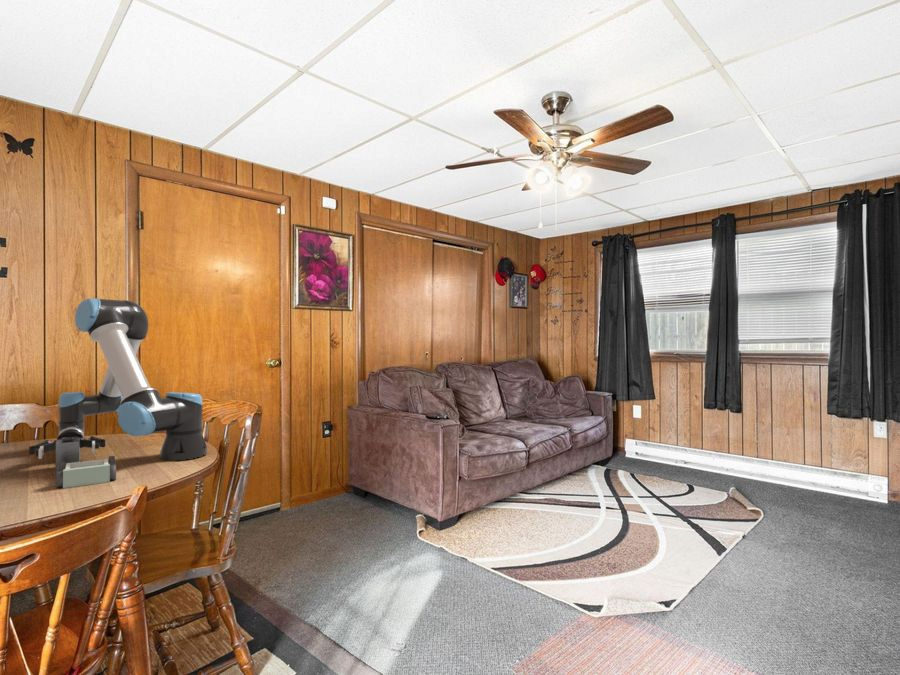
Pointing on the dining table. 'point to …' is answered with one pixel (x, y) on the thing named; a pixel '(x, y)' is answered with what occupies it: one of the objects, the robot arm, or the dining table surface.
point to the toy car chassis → (85, 472)
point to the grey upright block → (67, 450)
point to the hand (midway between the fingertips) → (67, 451)
